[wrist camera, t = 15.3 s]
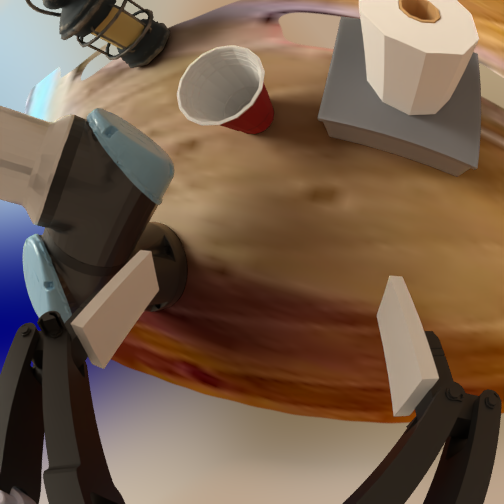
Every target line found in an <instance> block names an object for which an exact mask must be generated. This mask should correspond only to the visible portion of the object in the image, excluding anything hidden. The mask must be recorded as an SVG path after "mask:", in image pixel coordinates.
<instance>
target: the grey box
mask: <svg viewBox="0 0 504 504" xmlns="http://www.w3.org/2000/svg"><path fill="white" fill-rule="evenodd" d="M318 120H319V121H322V122H323V123H324V125H325V127H326V130H327V132H328V135H329V137H333V138H337V139H342V140H346V141H350V142H354V143H358V144H361V145H365V146H369V147H372V148H376V149H379V150H383V151H386V152H389V153H393V154H396V155H399V156H402V157H405V158H408V159H411V160H414V161H417V162H420V163H422V164H425V165H428V166H431V167H433V168H436V169H439V170H441V171H444V172H446V173H449V174H451V175H454V176H456V177H458V176H459V175H461V174H462V173H464V172H465V171H467V170H468V169H470V168H472V169H474V170H476V169H477V168H478V159H479V148H480V132H481V88H480V72H479V61H478V54H477V53H474V52H473V54H472V56H471V58H470V60H469V62H468V65H467V67H466V69H465V71H464V73H463V75H462V77H461V79H460V81H459V83H458V85H457V87H456V89H455V90H454V92H453V94H452V96H451V98H450V99H449V100H448V102H447V103H446V104H445V105H444V106H443V107H442V108H441V109H440V110H439V111H438V112H437V113H436V114H426V115H408V114H406V113H404V112H402V111H400V110H398V109H396V108H394V107H392V106H390V105H388V104H386V103H384V102H382V100H381V99H380V98H379V96H378V95H377V93H376V92H375V91H374V89H373V88H372V86H371V85H370V84H369V82H368V81H367V74H366V62H365V51H364V42H363V34H362V27H361V20H360V19H356V18H349V17H341V20H340V24H339V29H338V33H337V38H336V42H335V47H334V51H333V55H332V60H331V64H330V68H329V73H328V77H327V81H326V85H325V89H324V94H323V98H322V102H321V106H320V110H319V114H318Z"/></svg>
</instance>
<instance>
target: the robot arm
mask: <svg viewBox="0 0 504 504" xmlns="http://www.w3.org/2000/svg"><path fill="white" fill-rule="evenodd" d="M173 176H174V165H173V162H172V160H171V158H170V157H169V156H168V154H167V153H166V152H165V151H164V150H163V149H162V148H161V147H160V146H158V145H157V144H156V143H155V142H154V141H153V140H151V139H150V138H149V137H148V136H146V135H145V134H144V133H143V132H141V131H140V130H138V129H137V128H136V127H134V126H133V125H131V124H130V123H128V122H127V121H125V120H123V119H122V118H120V117H118V116H117V115H115V114H113V113H110V112H108V111H106V110H104V109H101V108H97V109H94V110H93V111H92V112H91V113H89V114H88V116H87V119H83V118H81V117H78V116H76V115H72V114H70V115H68V116H66V117H64V118H62V119H60V120H58V121H56V122H47V121H44V120H41V119H38V118H35V117H32V116H29V115H27V114H24V113H21V112H18V111H14V110H11V109H8V108H5V107H2V106H0V199H1V200H4V201H8V202H11V203H15V204H19V205H22V206H23V207H24V208H25V209H26V211H27V213H28V214H29V217H30V219H31V221H32V222H33V224H35V225H38V226H42V227H45V230H44V233H43V235H38V234H34V235H33V236H30V237H29V238H27V239H26V241H25V244H24V248H23V269H24V277H25V282H26V286H27V290H28V294H29V297H30V300H31V302H32V305H33V307H34V309H35V311H36V313H37V315H38V317H39V319H38V322H37V323H38V325H39V327H40V329H41V331H38V330H37V328H36V326H35V325H34V324H33V323H26V324H24V325H22V326H21V327H20V328H19V329H18V331H17V333H16V335H15V337H14V340H13V342H12V345H11V347H10V350H9V352H8V355H7V358H6V360H5V363H4V366H3V369H2V372H1V374H0V504H39V499H40V492H41V469H42V452H43V440H44V432H45V440H46V448H47V455H48V461H49V468H48V469H47V470H45V471H44V474H43V479H44V484H45V489H46V493H47V498H48V502H49V504H125V502H124V500H123V498H122V496H121V494H120V493H119V491H118V490H117V488H116V487H115V486H114V484H113V482H112V478H111V475H110V472H109V469H108V466H107V463H106V459H105V456H104V452H103V448H102V444H101V441H100V437H99V432H98V428H97V424H96V419H95V414H94V409H93V403H92V397H91V391H90V385H89V378H88V370H87V365H86V362H85V360H86V359H87V357H89V359H90V361H91V363H92V364H93V365H96V366H98V367H100V368H103V369H104V368H105V366H106V365H107V363H108V362H109V360H110V359H111V357H112V356H113V355H114V353H115V352H116V350H117V349H118V347H119V346H120V344H121V343H122V341H123V340H124V338H125V337H126V336H127V334H128V333H129V331H130V330H131V328H132V327H133V326H134V324H135V323H136V321H137V320H138V318H139V317H140V316H141V314H142V313H143V311H149V312H154V311H159V310H162V309H165V308H168V307H170V306H172V305H173V304H174V303H176V302H177V300H178V299H179V298H180V296H181V295H182V293H183V290H184V288H185V284H186V279H187V261H186V256H185V252H184V249H183V247H182V244H181V242H180V241H179V239H178V237H177V236H176V235H175V233H174V232H173V231H172V230H171V229H170V228H168V227H167V226H165V225H163V224H161V223H157V222H149V221H150V219H151V217H152V215H153V213H154V212H155V210H156V208H157V206H158V205H160V204H161V203H162V197H163V195H164V193H165V192H166V190H167V188H168V186H169V184H170V182H171V181H172V179H173ZM377 320H378V324H379V329H380V334H381V339H382V344H383V349H384V354H385V360H386V365H387V371H388V377H389V384H390V391H391V398H392V406H393V414H394V416H408V415H410V414H411V413H412V412H413V410H414V409H415V410H416V417H415V418H414V419H413V420H412V421H411V422H410V423H409V425H408V426H407V429H406V431H405V432H404V434H403V435H402V436H401V438H400V439H399V440H398V442H397V443H396V445H395V446H394V447H393V448H392V450H391V451H390V452H389V453H388V455H387V456H386V457H385V458H384V460H383V461H382V462H381V463H380V464H379V466H378V467H377V468H376V469H375V470H374V471H373V473H372V474H371V475H370V476H369V477H368V478H367V479H366V480H365V481H364V482H363V484H362V485H361V486H360V487H359V488H358V489H357V490H356V491H355V492H354V493H353V494H352V495H351V496H350V497H349V498H348V499H347V500H346V501H345V502H344V503H343V504H404V503H405V502H406V501H407V499H408V498H409V497H410V495H411V494H412V493H413V491H414V490H415V489H416V487H417V486H418V484H419V483H420V482H421V480H422V479H423V477H424V475H425V474H426V473H427V471H428V469H429V468H430V466H431V465H432V463H433V462H434V460H435V458H436V457H437V455H438V453H439V452H440V450H441V448H442V446H443V445H444V443H445V445H444V448H443V452H442V455H441V458H440V461H439V464H438V467H437V470H436V473H435V475H434V478H433V481H432V483H431V486H430V488H429V491H428V493H427V496H426V498H425V500H424V502H423V504H483V503H484V500H485V496H486V493H487V489H488V486H489V482H490V478H491V474H492V469H493V465H494V460H495V455H496V449H497V443H498V435H499V428H500V418H501V399H500V397H499V395H498V394H497V393H496V392H495V391H493V390H485V391H483V393H482V394H481V395H480V396H476V395H471V394H467V393H465V391H464V389H463V388H462V386H461V385H459V384H458V383H456V382H454V381H453V379H452V375H451V372H450V369H449V366H448V363H447V360H446V357H445V356H444V355H445V354H444V351H443V349H442V346H441V343H440V341H439V339H438V337H437V336H436V335H435V334H434V332H433V331H424V330H423V327H422V324H421V321H420V319H419V316H418V313H417V311H416V308H415V306H414V303H413V301H412V298H411V296H410V293H409V291H408V289H407V286H406V284H405V282H404V279H403V277H401V276H390V275H389V279H388V282H387V285H386V289H385V292H384V295H383V298H382V301H381V304H380V307H379V310H378V312H377ZM31 361H32V362H33V363H34V364H33V367H31V366H30V364H31Z"/></svg>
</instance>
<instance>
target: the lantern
mask: <svg viewBox="0 0 504 504" xmlns="http://www.w3.org/2000/svg"><path fill="white" fill-rule="evenodd" d="M127 1H129V2H130V3H132V4H133V5H135V6H136V7H138V8H139V9H141V10H139V11H138V12H136V13H134V14H130V13H128V12H127V11H125V10H124V7H125V5H126V3H127ZM26 2H27V4H28V5H29V6H30V7H31V8H32V9H33V10H35V11H37V12H40V13H43V14H47V15H53V16H58V17H60V34H61V39H63V40H66V39H68V38H70V37H72V36H73V35H76V36H77V41H78V42H79V44H80V45H81V46H82V47H86V46H88V47H90V48H92V49H95V50H97V51H99V52H101V53H103V54H105V55H106V57H108V59H110V60H115V59H118V58H120V57H121V58H122V60H124V61H125V62H126V64H129V67H130V68H134V67H138V66H142V65H146V64H148V63H149V62H150V61H151V60H152V59H154V58H155V57H156V56H157V55H158V54H159V53H160V52H161V51H162V50H163V49H164V46H165V44H166V42H167V39H168V37H169V35H170V31H169V29H168V28H167V27H166V26H165V24H163V23H158V22H155V21H154V20H153V12H152V11H150V10H148V9H143V8H142V7H140V6H139V5H138V4H136V3H135V2H133V1H132V0H124V1H123V3H122V6H121V7H119V6H117V5H114V4H115V3H116V0H43V4H44V6H45V7H46V8H49V9H59V8H62V13H55V12H49V11H45V10H42V9H39V8H38V7H36V6H34V5H33V4H32V3H31V2H30V0H26ZM143 12H145V13H146V14H147V15H148V19H142V20H139V19H138V18H136V17H135V15H137V14H139V13H143ZM90 33H91V34H93V35H95V36H96V37H95V38H94V39H92V40H91V41H90V42H88V43H85V42H83V37H85V36H86V35H88V34H90ZM79 37H80V39H79ZM99 38H101V39H103V40H105V41H107V42H108V44H107V47H106V52H104V51H102V50H100V49H98V48H96V47H94V46H92V45H91V44H92V43H93V42H95V41H96V40H98V39H99ZM110 44H112V45H114V46H116V47H117V49H118V52H119V54H118V55H116V56H113V55H110V54H109V47H110Z"/></svg>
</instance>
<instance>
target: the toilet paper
mask: <svg viewBox="0 0 504 504" xmlns="http://www.w3.org/2000/svg"><path fill="white" fill-rule="evenodd" d="M359 13H360V20H361V27H362V34H363V42H364V51H365V62H366V74H367V81H368V82H369V84H370V85H371V86H372V88H373V89H374V91H375V92H376V93H377V95H378V96H379V98H380V99H381V100H382V102H384V103H386V104H388V105H390V106H392V107H394V108H396V109H398V110H400V111H402V112H404V113H406V114H408V115H426V114H436V113H437V112H438V111H439V110H440V109H441V108H442V107H443V106H444V105H445V104H446V103H447V102H448V100H449V99H450V98H451V96H452V94H453V92H454V90H455V89H456V87H457V85H458V83H459V81H460V79H461V77H462V75H463V73H464V71H465V69H466V67H467V65H468V62H469V60H470V58H471V56H472V54H473V52H474V49H475V47H476V45H477V43H478V40H479V37H478V34H477V30H476V27H475V24H474V21H473V18H472V15H471V13H470V12H469V11H468V10H467V9H465V8H464V7H463V6H462V5H461V4H460V3H459V2H458V1H457V0H359Z"/></svg>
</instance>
